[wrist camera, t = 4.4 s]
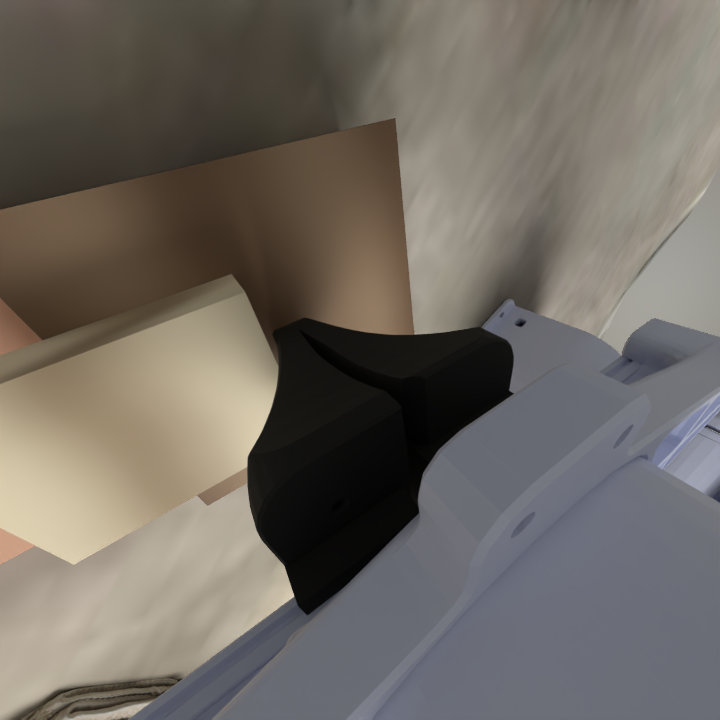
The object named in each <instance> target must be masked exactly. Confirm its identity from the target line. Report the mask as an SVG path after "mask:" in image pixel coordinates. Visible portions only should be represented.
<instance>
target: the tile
mask: <svg viewBox="0 0 720 720" xmlns="http://www.w3.org/2000/svg"><path fill="white" fill-rule="evenodd" d="M277 380H278V365H277V362H276V360H275V358H274V356H273V353H272V351H271V349H270V347H269V344H268V342H267V340H266V338H265V335H264V333H263V331H262V329H261V326H260V324H259V322H258V320H257V317H256V315H255V313H254V311H253V308H252V306H251V304H250V302H249V299H248V297H247V295H246V293H245V291H244V290H243V288H242V287H241V286H240V285H239V283H238V282H237V281H236V279H235V278H234V277H233V275H232V274H230V275H227V276H224V277H222V278H219V279H216V280H213V281H210V282H207V283H205V284H202V285H199V286H196V287H193V288H190V289H187V290H185V291H182V292H179V293H176V294H173V295H170V296H168V297H165V298H162V299H159V300H156V301H153V302H150V303H148V304H145V305H142V306H139V307H136V308H133V309H131V310H128V311H125V312H122V313H119V314H116V315H113V316H111V317H108V318H105V319H102V320H99V321H96V322H94V323H91V324H88V325H85V326H82V327H79V328H76V329H74V330H71V331H68V332H65V333H62V334H59V335H57V336H54V337H51V338H48V339H45V340H42V341H39V342H37V343H34V344H31V345H28V346H25V347H22V348H20V349H17V350H14V351H11V352H8V353H5V354H2V355H0V528H1V529H3V530H5V531H7V532H9V533H11V534H13V535H15V536H17V537H19V538H21V539H23V540H25V541H27V542H29V543H31V544H33V545H35V546H38V547H40V548H42V549H44V550H46V551H48V552H50V553H52V554H54V555H56V556H58V557H60V558H62V559H64V560H66V561H68V562H70V563H72V564H76V563H77V562H79V561H81V560H83V559H85V558H86V557H88V556H90V555H92V554H93V553H95V552H97V551H99V550H101V549H102V548H104V547H106V546H108V545H109V544H111V543H113V542H115V541H117V540H118V539H120V538H122V537H124V536H125V535H127V534H129V533H131V532H133V531H134V530H136V529H138V528H140V527H141V526H143V525H145V524H147V523H149V522H150V521H152V520H154V519H156V518H157V517H159V516H161V515H163V514H165V513H166V512H168V511H170V510H172V509H173V508H175V507H177V506H179V505H181V504H182V503H184V502H186V501H188V500H189V499H191V498H193V497H195V496H197V495H198V494H200V493H202V492H204V491H205V490H207V489H209V488H211V487H213V486H214V485H216V484H218V483H220V482H221V481H223V480H225V479H227V478H228V477H230V476H232V475H234V474H236V473H237V472H239V471H241V470H243V469H244V468H246V467H247V460H248V455H249V453H250V451H251V450H252V448H253V446H254V445H255V443H256V441H257V439H258V438H259V436H260V434H261V432H262V430H263V428H264V425H265V423H266V420H267V418H268V415H269V413H270V410H271V407H272V404H273V400H274V396H275V392H276V387H277Z"/></svg>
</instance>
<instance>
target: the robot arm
mask: <svg viewBox="0 0 720 720" xmlns="http://www.w3.org/2000/svg"><path fill="white" fill-rule="evenodd" d="M272 336H273V338H274V340H275V343H276V345H277V349H278V360H279V361H278V380H277V387H276V392H275V396H274V400H273V404H272V407H271V410H270V413H269V415H268V418H267V420H266V423H265V425H264V428H263V430H262V432H261V434H260V436H259V438H258V439H257V441H256V443H255V445H254V446H253V448H252V450H251V451H250V453H249V455H248V460H247V480H248V494H249V502H250V508H251V512H252V515H253V519H254V522H255V526H256V529H257V532H258V534H259V536H260V538H261V540H262V541H263V542H264V543H265V544H266V545H267V547H268V548H269V549H270V550H271V551H272V552H273V553H274V554H275V556H276V557H277V558H278V559H279V560H280V561H281V562H282V563H283V564H284V566H285V569H286V572H287V575H288V578H289V581H290V584H291V587H292V590H293V593H294V596H295V597H293V598H292V599H291V600H289V601H288V602H287V603H285V604H284V605H282V606H281V607H280V608H278V609H277V610H276V611H274V612H273V613H272V614H270V615H269V616H268V617H266V618H265V619H263V620H262V621H261V622H259V623H258V624H257V625H255V626H254V627H253V628H251V629H250V630H249V631H247V632H246V633H244V634H243V635H242V636H240V637H239V638H238V639H236V640H235V641H234V642H232V643H231V644H230V645H228V646H227V647H225V648H224V649H223V650H221V651H220V652H219V653H217V654H216V655H215V656H213V657H212V658H211V659H209V660H208V661H206V662H205V663H204V664H202V665H201V666H200V667H198V668H197V669H196V670H194V671H193V672H192V673H190V674H189V675H187V676H186V677H185V678H183V679H182V680H181V681H179V682H178V683H177V684H175V685H174V686H173V687H171V688H170V689H168V690H167V691H166V692H164V693H163V694H162V695H160V696H159V697H158V698H156V699H155V700H154V701H152V702H151V703H149V704H148V705H147V706H145V707H144V708H143V709H141V710H140V711H139V712H137V713H136V714H135V715H133V716H132V717H130V718H129V719H128V720H720V434H718V433H720V337H718V336H714V335H711V334H708V333H704V332H701V331H697V330H694V329H690V328H687V327H683V326H680V325H676V324H673V323H669V322H666V321H662V320H659V319H656V318H654V319H651V320H650V321H648V322H647V323H646V324H644V325H643V326H641V327H640V328H639V329H637V330H636V331H634V332H633V333H632V334H631V336H630V337H629V338H628V340H627V342H626V343H625V346H624V348H623V351H622V356H621V355H620V354H619V353H618V352H617V351H616V350H615V349H613V348H612V347H611V346H610V345H608V344H607V343H606V342H604V341H603V340H601V339H599V338H597V337H596V336H594V335H592V334H590V333H588V332H585V331H583V330H580V329H577V328H575V327H572V326H569V325H566V324H564V323H561V322H558V321H555V320H553V319H550V318H547V317H545V316H542V315H539V314H536V313H534V312H531V311H528V310H525V309H523V308H520V307H517V306H515V303H514V301H513V300H512V299H507V300H505V301H504V302H503V304H502V305H501V306H500V307H499V308H498V309H497V310H496V311H495V312H494V314H493V315H492V316H491V317H490V318H489V319H488V320H487V321H486V322H485V324H484V325H483V326H482V327H476V328H470V329H464V330H458V331H451V332H444V333H434V334H420V335H390V334H378V333H368V332H362V331H356V330H351V329H346V328H342V327H338V326H334V325H330V324H327V323H323V322H320V321H316V320H313V319H309V318H305V317H304V318H302V319H300V320H297V321H295V322H293V323H290V324H288V325H286V326H283V327H281V328H279V329H276V330H274V331H273V334H272ZM706 427H708V428H709V429H712V430H714V431H716V432H718V433H716V432H714V431H712V430H709V429H707V428H706Z"/></svg>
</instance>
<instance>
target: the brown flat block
mask: <svg viewBox="0 0 720 720" xmlns="http://www.w3.org/2000/svg"><path fill="white" fill-rule="evenodd" d="M230 274H232V275H233V277H234V278H235V279H236V281H237V282H238V283H239V285H240V286H241V287H242V288H243V290H244V291H245V293H246V295H247V297H248V299H249V302H250V304H251V306H252V308H253V311H254V313H255V315H256V317H257V320H258V322H259V324H260V326H261V329H262V331H263V333H264V335H265V338H266V340H267V342H268V344H269V347H270V349H271V351H272V353H273V356H274V358H275V360H276V362H277V365H278V361H279V360H278V349H277V345H276V343H275V340H274V338H273V336H272V334H273V331H274V330H276V329H279V328H281V327H283V326H286V325H288V324H290V323H293V322H295V321H297V320H300V319H302V318H304V317H305V318H309V319H313V320H316V321H320V322H323V323H327V324H330V325H334V326H338V327H342V328H346V329H351V330H356V331H362V332H368V333H378V334H390V335H414V327H413V316H412V304H411V293H410V281H409V270H408V259H407V247H406V236H405V224H404V213H403V201H402V190H401V178H400V167H399V156H398V144H397V133H396V121H395V118H394V119H390V120H385V121H381V122H377V123H372V124H368V125H364V126H359V127H355V128H351V129H346V130H342V131H338V132H333V133H329V134H325V135H320V136H316V137H312V138H307V139H303V140H299V141H294V142H290V143H286V144H282V145H277V146H273V147H269V148H264V149H260V150H256V151H251V152H247V153H243V154H238V155H234V156H230V157H225V158H221V159H217V160H212V161H208V162H204V163H199V164H195V165H191V166H187V167H182V168H178V169H174V170H169V171H165V172H161V173H156V174H152V175H148V176H143V177H139V178H135V179H130V180H126V181H122V182H117V183H113V184H109V185H104V186H100V187H96V188H91V189H87V190H83V191H79V192H74V193H70V194H66V195H61V196H57V197H53V198H48V199H44V200H40V201H35V202H31V203H27V204H22V205H18V206H14V207H9V208H5V209H1V210H0V298H1V299H2V300H3V301H4V302H5V303H6V304H7V305H8V306H9V307H10V308H11V309H12V310H13V311H14V312H15V313H16V314H17V315H18V316H19V317H20V318H21V319H22V320H23V321H24V322H25V323H26V324H27V325H28V326H29V327H30V328H31V329H32V330H33V331H34V332H35V333H36V334H37V335H38V336H39V337H40V338H41V339H42V340H45V339H48V338H51V337H54V336H57V335H59V334H62V333H65V332H68V331H71V330H74V329H76V328H79V327H82V326H85V325H88V324H91V323H94V322H96V321H99V320H102V319H105V318H108V317H111V316H113V315H116V314H119V313H122V312H125V311H128V310H131V309H133V308H136V307H139V306H142V305H145V304H148V303H150V302H153V301H156V300H159V299H162V298H165V297H168V296H170V295H173V294H176V293H179V292H182V291H185V290H187V289H190V288H193V287H196V286H199V285H202V284H205V283H207V282H210V281H213V280H216V279H219V278H222V277H224V276H227V275H230ZM246 483H248V480H247V467H246V468H244V469H243V470H241V471H239V472H237V473H236V474H234V475H232V476H230V477H228V478H227V479H225V480H223V481H221V482H220V483H218V484H216V485H214V486H213V487H211V488H209V489H207V490H205V491H204V492H202V493H200V494H198V495H197V496H198V497H199V498H200V499H201V500H202V501H203V502H204V503H205V504H206V505H207V506H208V505H210V504H211V503H213V502H215V501H217V500H218V499H220V498H222V497H224V496H225V495H227V494H229V493H230V492H232V491H234V490H236V489H237V488H239V487H241V486H243V485H244V484H246Z"/></svg>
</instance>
